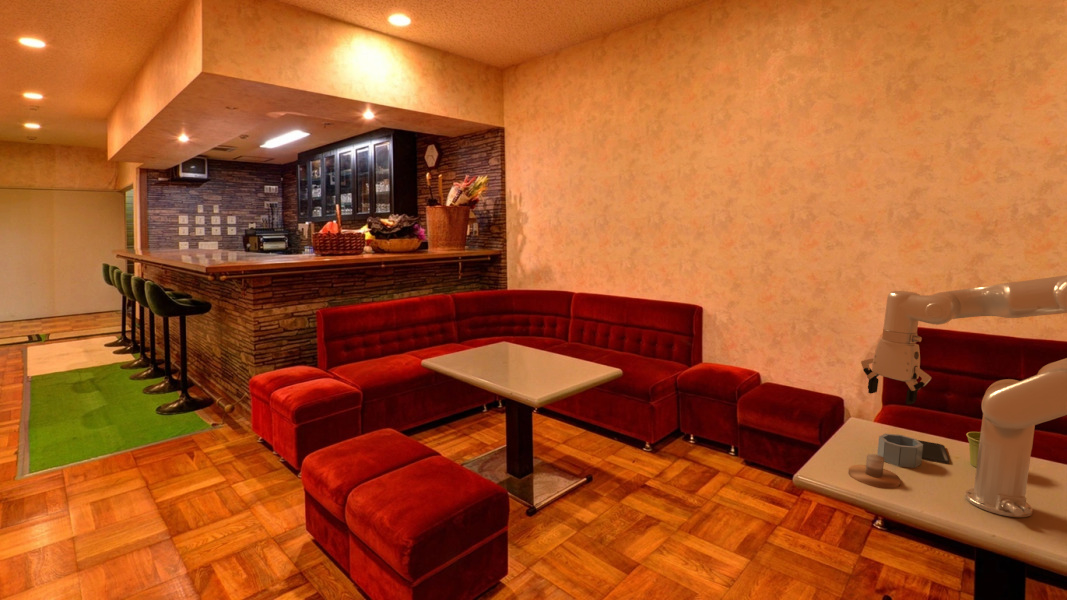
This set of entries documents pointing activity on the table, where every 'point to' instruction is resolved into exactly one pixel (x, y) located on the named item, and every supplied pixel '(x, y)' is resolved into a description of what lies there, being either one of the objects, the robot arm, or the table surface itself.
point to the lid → (874, 473)
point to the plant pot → (973, 446)
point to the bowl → (900, 450)
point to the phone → (934, 452)
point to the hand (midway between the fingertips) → (890, 398)
